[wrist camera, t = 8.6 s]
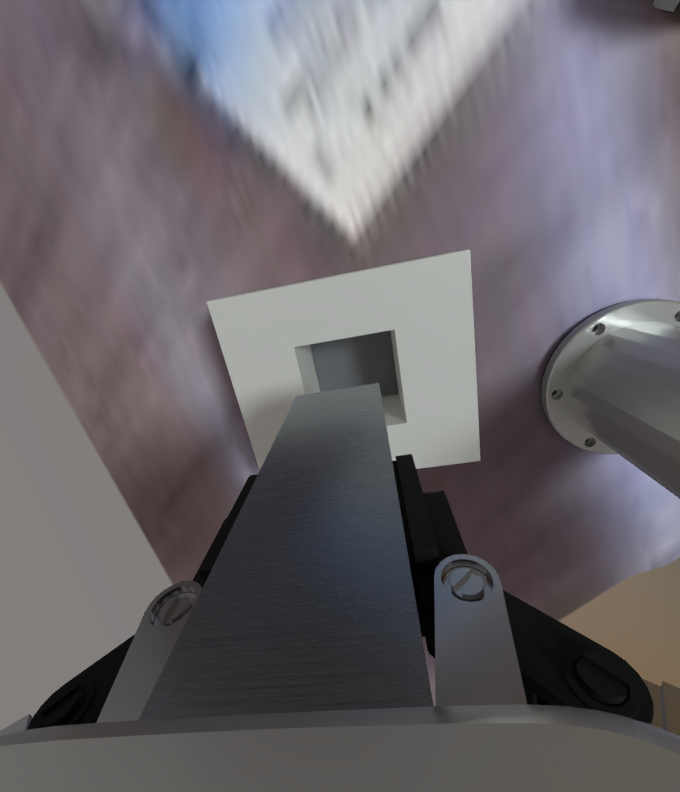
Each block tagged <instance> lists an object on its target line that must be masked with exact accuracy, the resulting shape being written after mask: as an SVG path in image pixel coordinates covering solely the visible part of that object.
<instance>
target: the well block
mask: <svg viewBox="0 0 680 792" xmlns="http://www.w3.org/2000/svg"><path fill="white" fill-rule="evenodd" d="M207 305H208V308H209V311H210V314H211V317H212V321H213V324H214V327H215V330H216V333H217V336H218V340H219V343H220V346H221V349H222V352H223V356H224V359H225V362H226V365H227V368H228V372H229V375H230V378H231V381H232V384H233V387H234V391H235V394H236V397H237V400H238V403H239V407H240V410H241V413H242V416H243V419H244V423H245V426H246V429H247V432H248V435H249V439H250V442H251V445H252V448H253V451H254V454H255V458H256V461H257V464H258V467H259V470H260V469H261V467H262V465H263V463H264V461H265V459H266V457H267V455H268V453H269V451H270V449H271V447H272V445H273V442H274V440H275V438H276V436H277V434H278V432H279V430H280V428H281V426H282V424H283V422H284V420H285V418H286V416H287V414H288V412H289V410H290V408H291V406H292V403H293V401H294V399H295V397H296V396H300V395H306V394H312V393H319V392H325V391H331V390H337V389H344V388H350V387H356V386H363V385H369V384H375V383H379V385H380V391H381V397H382V403H383V409H384V415H385V421H386V427H387V433H388V439H389V445H390V451H391V457H392V461H396V456H400V455H408V454H412V456H413V460H414V463H415V467H416V469H419V468H427V467H435V466H444V465H452V464H460V463H468V462H476V461H481V460H480V440H479V420H478V400H477V380H476V360H475V340H474V319H473V299H472V279H471V259H470V250H464V251H457V252H450V253H444V254H439V255H434V256H429V257H424V258H419V259H414V260H409V261H404V262H399V263H394V264H389V265H384V266H379V267H374V268H369V269H364V270H359V271H354V272H349V273H344V274H338V275H333V276H328V277H323V278H318V279H313V280H308V281H303V282H298V283H293V284H288V285H283V286H278V287H273V288H268V289H263V290H258V291H253V292H248V293H243V294H238V295H234V296H229V297H225V298H221V299H216V300H212V301H208V302H207ZM389 330H390V332H389ZM390 336H391V339H390ZM391 343H392V346H391ZM392 351H393V354H392ZM393 358H394V361H393ZM394 366H395V368H394ZM395 373H396V376H395ZM396 380H397V383H396ZM397 388H398V390H397Z"/></svg>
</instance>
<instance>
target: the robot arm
mask: <svg viewBox="0 0 680 792" xmlns="http://www.w3.org/2000/svg"><path fill="white" fill-rule="evenodd" d="M593 327H594V328H593ZM553 391H554V392H553ZM552 392H553V393H552ZM541 399H542V406H543V410H544V413H545V415H546V418H547V420H548V421H549V423H550V424H551V426H552V427H553V428H554V430H555V431H556V432H558V433H559V434H560V435H561V436H562V437H563V438H564V439H566V440H567V441H568V442H570V443H571V444H573V445H574V446H576V447H579V448H581V449H583V450H586V451H590V452H595V453H600V454H619V455H621V456H622V457H623V458H625V459H626V460H628V461H629V462H630V463H632V464H633V465H634V466H636V467H637V468H639V469H640V470H641V471H643V472H644V473H645V474H647V475H648V476H649V477H651V478H652V479H654V480H655V481H656V482H658V483H659V484H660V485H662V486H663V487H664V488H666V489H667V490H669V491H670V492H671V493H673V494H674V495H675V496H677V497H678V498H680V302H677V301H670V300H662V299H638V300H632V301H626V302H622V303H619V304H616V305H613V306H610V307H608V308H605V309H603V310H602V311H600V312H598V313H596V314H594V315H592V316H590V317H589V318H587V319H586V320H585V321H583V322H582V323H581V324H579V325H578V326H577V327H575V328H574V329H573V330H572V331H571V332H570V333H569V334H568V335H567V336H566V337H565V338H564V339H563V340H562V342H561V343H560V345H559V346H558V347H557V349H556V350H555V352H554V353H553V355H552V357H551V359H550V361H549V363H548V365H547V367H546V370H545V373H544V377H543V380H542V389H541ZM392 463H393V469H394V475H395V481H396V487H397V493H398V499H399V505H400V511H401V516H402V522H403V528H404V534H405V540H406V546H407V552H408V558H409V564H410V570H411V576H412V582H413V588H414V594H415V600H416V606H417V612H418V618H419V624H420V630H421V636H422V637H423V636H425V637H426V643H427V648H428V651H429V654H431V655H432V656H433V657H434V658H435V676H436V706H431V707H406V708H382V709H358V710H334V711H312V712H291V713H270V714H249V715H229V716H208V717H190V718H171V719H153V720H138V719H139V717H140V715H141V713H142V711H143V709H144V707H145V705H146V703H147V701H148V699H149V697H150V695H151V693H152V691H153V689H154V687H155V685H156V683H157V680H158V678H159V676H160V674H161V672H162V670H163V668H164V666H165V664H166V662H167V660H168V658H169V656H170V654H171V652H172V650H173V648H174V646H175V644H176V642H177V639H178V637H179V635H180V633H181V631H182V629H183V627H184V625H185V623H186V621H187V619H188V617H189V615H190V613H191V611H192V609H193V607H194V605H195V603H196V600H197V598H198V596H199V594H200V592H201V590H202V588H203V586H204V584H205V582H206V580H207V578H208V576H209V574H210V572H211V570H212V568H213V566H214V564H215V561H216V559H217V557H218V555H219V553H220V551H221V549H222V547H223V545H224V543H225V541H226V539H227V537H228V535H229V533H230V531H231V529H232V527H233V525H234V522H235V520H236V518H237V516H238V514H239V512H240V510H241V508H242V506H243V504H244V502H245V500H246V498H247V496H248V494H249V492H250V490H251V488H252V486H253V484H254V481H255V479H256V477H257V475H251V476H249V478H248V479H247V481H246V483H245V485H244V487H243V489H242V491H241V493H240V495H239V497H238V499H237V500H236V502H235V504H234V506H233V508H232V510H231V512H230V514H229V516H228V517H227V518H226V519H225V521H224V522H223V524H222V526H221V528H220V530H219V532H218V534H217V536H216V538H215V539H214V541H213V543H212V545H211V547H210V549H209V551H208V553H207V555H206V556H205V558H204V560H203V562H202V564H201V566H200V568H199V570H198V572H197V573H196V575H195V577H194V579H193V581H182V582H179V583H177V584H174V585H172V586H170V587H169V588H167V589H165V590H164V591H163V592H161V593H160V594H159V595H158V596H157V597H156V598H155V599H154V600H153V601H152V602H151V603H150V605H149V606H148V608H147V610H146V611H145V613H144V616H143V618H142V620H141V622H140V625H139V627H138V629H137V631H136V634H135V635H133V636H132V637H131V638H129V639H128V640H126V641H125V642H124V643H122V644H121V645H119V646H118V647H117V648H115V649H114V650H112V651H111V652H109V653H108V654H107V655H105V656H104V657H102V658H101V659H100V660H98V661H97V662H95V663H94V664H93V665H91V666H90V667H88V668H87V669H86V670H84V671H83V672H81V673H80V674H79V675H77V676H76V677H74V678H73V679H72V680H70V681H69V682H67V683H66V684H65V685H63V686H62V687H61V688H60V689H58V690H57V691H56V692H55V693H53V694H52V695H51V696H50V697H49V698H48V699H47V700H46V701H45V703H44V704H43V705H42V706H41V707H40V708H39V710H38V711H37V713H36V714H35V715H34V717H33V718H32V716H31V715H30V714H29V715H27V716H25V717H23V718H22V719H20V720H18V721H17V722H15V723H13V724H12V725H10V726H8V727H6V728H5V729H3V730H1V731H0V792H680V688H678V687H675V686H673V685H671V684H668V683H666V682H662V686H661V687H660V686H658V685H656V684H654V683H651V682H649V681H647V680H644V679H642V678H641V677H640V676H639V674H638V673H637V672H636V671H635V670H634V669H633V668H632V667H631V666H630V665H629V664H628V663H627V662H626V661H625V660H623V659H622V658H621V657H619V656H618V655H616V654H615V653H613V652H612V651H610V650H608V649H607V648H604V647H603V646H601V645H599V644H598V643H596V642H594V641H592V640H591V639H589V638H587V637H585V636H584V635H582V634H580V633H578V632H576V631H575V630H573V629H571V628H569V627H568V626H566V625H564V624H562V623H560V622H559V621H557V620H555V619H553V618H552V617H550V616H548V615H546V614H544V613H543V612H541V611H539V610H537V609H536V608H534V607H532V606H530V605H528V604H527V603H525V602H523V601H521V600H520V599H518V598H516V597H514V596H512V595H511V594H509V593H507V592H505V591H504V590H502V585H501V581H500V578H499V576H498V573H497V572H496V571H495V570H494V568H493V567H492V566H491V565H490V564H488V563H487V562H486V561H484V560H483V559H480V558H478V557H476V556H473V555H468V554H467V551H466V549H465V546H464V543H463V541H462V538H461V535H460V533H459V530H458V527H457V525H456V522H455V519H454V517H453V514H452V511H451V509H450V506H449V503H448V501H447V498H446V495H445V493H444V491H437V492H429V493H423V492H422V489H421V485H420V481H419V478H418V474H417V471H416V467H415V463H414V460H413V456H412V454H408V455H400V456H396V461H392Z"/></svg>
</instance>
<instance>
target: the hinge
mask: <svg viewBox="0 0 680 792" xmlns="http://www.w3.org/2000/svg"><path fill="white" fill-rule="evenodd" d="M679 2H680V0H654V2H653V6H654V7H656V8H658V9H660V10H665V11H670V12H674V10H675V8H676V7H677V5H678V3H679Z"/></svg>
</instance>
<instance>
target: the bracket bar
mask: <svg viewBox="0 0 680 792" xmlns="http://www.w3.org/2000/svg"><path fill="white" fill-rule="evenodd" d="M431 706H433V701H432V695H431V689H430V683H429V677H428V671H427V665H426V659H425V653H424V647H423V641H422V636H421V630H420V624H419V618H418V612H417V606H416V600H415V594H414V588H413V582H412V576H411V570H410V564H409V558H408V552H407V546H406V540H405V534H404V528H403V522H402V516H401V511H400V505H399V499H398V493H397V487H396V481H395V475H394V469H393V463H392V457H391V451H390V445H389V439H388V433H387V427H386V421H385V415H384V409H383V403H382V397H381V391H380V385H379V383H375V384H369V385H363V386H356V387H350V388H344V389H337V390H331V391H325V392H319V393H312V394H306V395H300V396H296V397H295V399H294V401H293V403H292V406H291V408H290V410H289V412H288V414H287V416H286V418H285V420H284V422H283V424H282V426H281V428H280V430H279V432H278V434H277V436H276V438H275V440H274V442H273V445H272V447H271V449H270V451H269V453H268V455H267V457H266V459H265V461H264V463H263V465H262V467H261V469H260V471H259V473H258V475H257V477H256V479H255V481H254V484H253V486H252V488H251V490H250V492H249V494H248V496H247V498H246V500H245V502H244V504H243V506H242V508H241V510H240V512H239V514H238V516H237V518H236V520H235V522H234V525H233V527H232V529H231V531H230V533H229V535H228V537H227V539H226V541H225V543H224V545H223V547H222V549H221V551H220V553H219V555H218V557H217V559H216V561H215V564H214V566H213V568H212V570H211V572H210V574H209V576H208V578H207V580H206V582H205V584H204V586H203V588H202V590H201V592H200V594H199V596H198V598H197V600H196V603H195V605H194V607H193V609H192V611H191V613H190V615H189V617H188V619H187V621H186V623H185V625H184V627H183V629H182V631H181V633H180V635H179V637H178V639H177V642H176V644H175V646H174V648H173V650H172V652H171V654H170V656H169V658H168V660H167V662H166V664H165V666H164V668H163V670H162V672H161V674H160V676H159V678H158V680H157V683H156V685H155V687H154V689H153V691H152V693H151V695H150V697H149V699H148V701H147V703H146V705H145V707H144V709H143V711H142V713H141V715H140V717H139V719H138V720H153V719H171V718H190V717H208V716H229V715H249V714H270V713H291V712H312V711H334V710H358V709H382V708H406V707H431Z"/></svg>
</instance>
